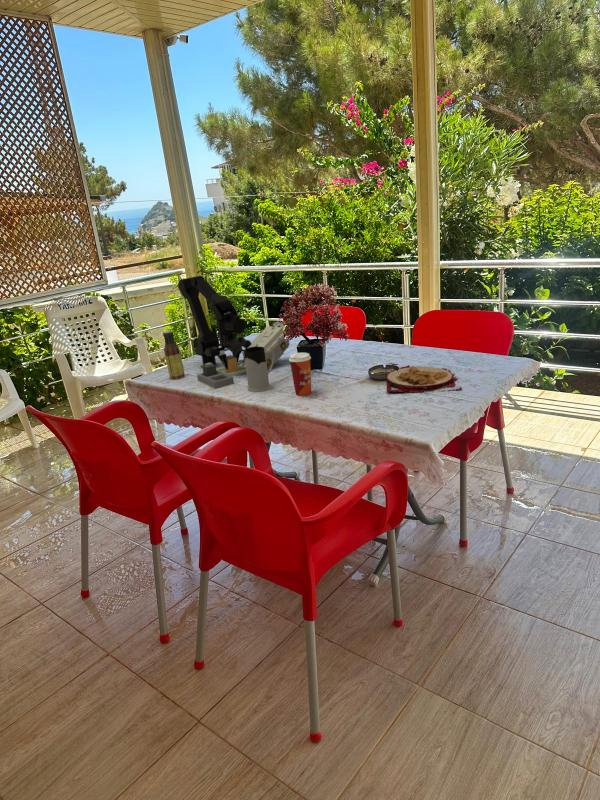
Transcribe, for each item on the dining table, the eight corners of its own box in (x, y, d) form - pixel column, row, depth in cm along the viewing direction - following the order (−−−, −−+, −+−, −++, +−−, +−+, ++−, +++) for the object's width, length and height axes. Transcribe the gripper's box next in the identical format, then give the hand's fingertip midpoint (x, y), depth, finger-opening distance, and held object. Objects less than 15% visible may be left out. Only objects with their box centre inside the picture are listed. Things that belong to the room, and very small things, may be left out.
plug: (225, 372, 230) (223, 356, 228) (233, 369, 232) (231, 354, 230) (229, 373, 227) (227, 357, 224) (238, 371, 229) (236, 355, 226)
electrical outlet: (300, 338, 236) (291, 319, 230) (260, 382, 223) (250, 364, 217) (281, 336, 244) (272, 318, 238) (241, 379, 230) (230, 360, 224)
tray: (214, 373, 231) (213, 369, 230) (237, 367, 237) (236, 363, 236) (226, 378, 222) (225, 374, 222) (250, 372, 228) (249, 368, 227)
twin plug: (204, 380, 222) (201, 363, 220) (213, 377, 224) (210, 361, 222) (208, 382, 219) (206, 365, 216) (217, 379, 221) (215, 363, 218)
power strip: (198, 381, 223) (196, 374, 222) (215, 376, 227) (214, 369, 226) (215, 389, 210) (214, 382, 209) (234, 384, 214) (233, 377, 213)
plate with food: (387, 396, 187) (386, 386, 185) (385, 371, 211) (385, 362, 210) (462, 393, 183) (462, 383, 182) (452, 368, 207) (452, 359, 206)
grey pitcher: (242, 389, 207) (237, 351, 202) (268, 378, 216) (264, 341, 211) (259, 393, 201) (253, 353, 196) (285, 381, 211) (280, 343, 206)
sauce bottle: (188, 376, 231) (179, 329, 225) (179, 381, 226) (170, 333, 220) (175, 375, 234) (167, 329, 228) (166, 380, 229) (157, 333, 222)
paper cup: (307, 397, 191) (303, 358, 186) (288, 395, 195) (284, 357, 190) (318, 390, 197) (314, 352, 193) (300, 388, 201) (296, 351, 197)
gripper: (213, 338, 212) (220, 377, 217) (255, 328, 222) (260, 365, 227) (201, 335, 221) (208, 372, 226) (242, 325, 231) (247, 361, 236)
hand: (231, 368), depth 229 cm, fingers closed on plug, 4 cm apart
